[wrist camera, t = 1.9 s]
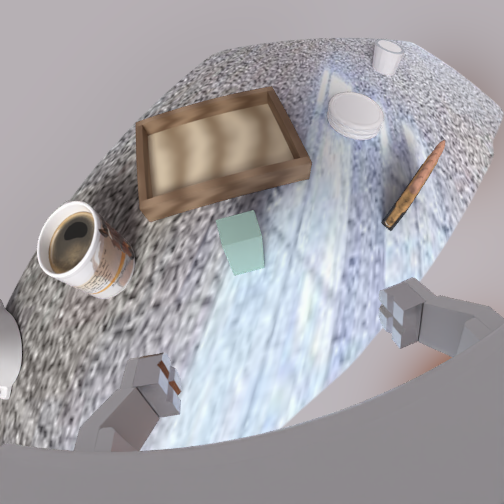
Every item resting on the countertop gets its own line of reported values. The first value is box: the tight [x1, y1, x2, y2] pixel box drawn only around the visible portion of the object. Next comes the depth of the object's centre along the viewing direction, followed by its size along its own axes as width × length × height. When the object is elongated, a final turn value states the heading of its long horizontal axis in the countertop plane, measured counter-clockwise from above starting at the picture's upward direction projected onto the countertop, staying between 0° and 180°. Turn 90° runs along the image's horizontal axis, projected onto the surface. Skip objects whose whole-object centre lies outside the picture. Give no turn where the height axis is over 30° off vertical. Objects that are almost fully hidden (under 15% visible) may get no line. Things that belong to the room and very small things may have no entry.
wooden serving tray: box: [136, 86, 312, 222], centre depth 44 cm, size 24×18×4 cm
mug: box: [37, 201, 135, 299], centre depth 35 cm, size 10×12×11 cm
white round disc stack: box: [327, 92, 384, 140], centre depth 46 cm, size 10×10×4 cm
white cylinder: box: [372, 39, 404, 76], centre depth 50 cm, size 7×7×7 cm
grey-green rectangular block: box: [216, 210, 264, 276], centre depth 34 cm, size 4×3×10 cm
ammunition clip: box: [382, 140, 445, 231], centre depth 35 cm, size 11×2×12 cm, turn 136°
